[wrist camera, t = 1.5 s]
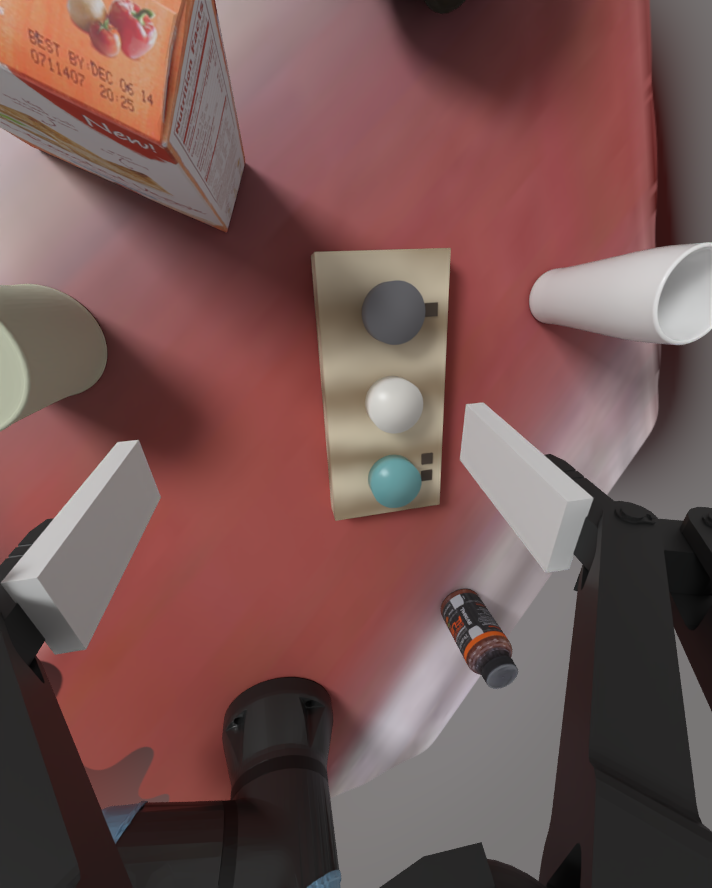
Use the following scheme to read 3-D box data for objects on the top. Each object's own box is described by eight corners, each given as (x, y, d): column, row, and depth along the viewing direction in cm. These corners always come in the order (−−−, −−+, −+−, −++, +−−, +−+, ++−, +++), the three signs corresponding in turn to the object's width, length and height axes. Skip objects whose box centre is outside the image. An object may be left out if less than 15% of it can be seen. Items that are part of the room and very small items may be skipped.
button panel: (429, 491, 45) (440, 505, 42) (331, 506, 43) (335, 521, 40) (436, 251, 35) (451, 247, 32) (310, 255, 33) (314, 251, 30)
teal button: (414, 494, 40) (421, 504, 38) (368, 501, 39) (373, 511, 37) (414, 451, 38) (422, 459, 36) (367, 457, 37) (371, 466, 35)
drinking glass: (530, 341, 41) (660, 363, 27) (511, 282, 38) (647, 273, 24) (583, 310, 41) (741, 316, 27) (569, 248, 38) (737, 220, 24)
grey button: (416, 340, 34) (424, 342, 32) (362, 344, 33) (368, 347, 31) (417, 280, 32) (426, 279, 30) (360, 282, 31) (365, 281, 29)
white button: (415, 423, 37) (422, 430, 35) (365, 429, 36) (371, 436, 34) (415, 373, 35) (423, 377, 33) (364, 378, 34) (369, 382, 32)
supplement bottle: (439, 591, 51) (480, 665, 41) (478, 582, 52) (529, 652, 42) (438, 623, 54) (478, 700, 43) (476, 614, 55) (524, 687, 44)
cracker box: (33, 155, 27) (-528, -183, 8) (44, 58, 26) (-625, -649, 6) (228, 240, 32) (162, 152, 12) (248, 162, 30) (208, -76, 11)
